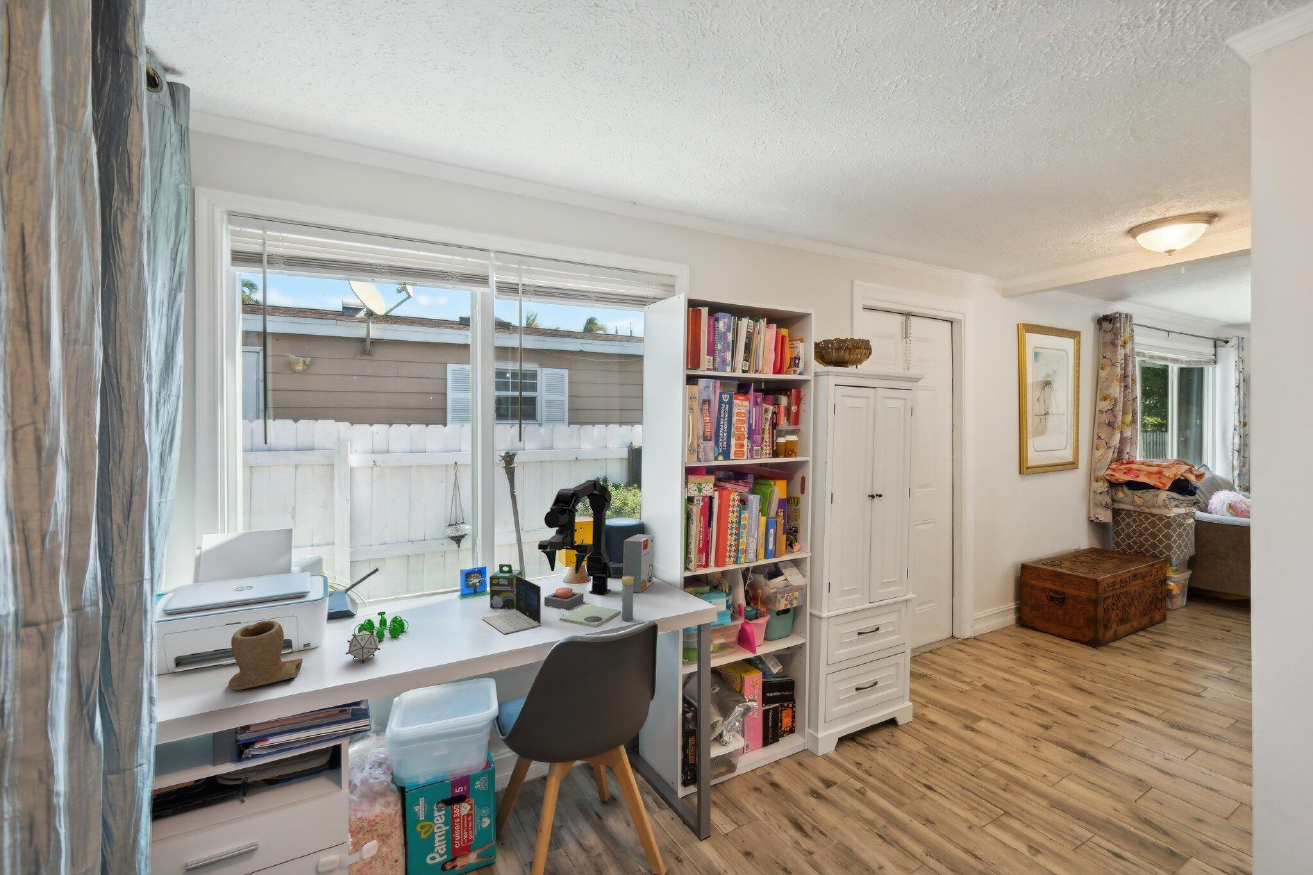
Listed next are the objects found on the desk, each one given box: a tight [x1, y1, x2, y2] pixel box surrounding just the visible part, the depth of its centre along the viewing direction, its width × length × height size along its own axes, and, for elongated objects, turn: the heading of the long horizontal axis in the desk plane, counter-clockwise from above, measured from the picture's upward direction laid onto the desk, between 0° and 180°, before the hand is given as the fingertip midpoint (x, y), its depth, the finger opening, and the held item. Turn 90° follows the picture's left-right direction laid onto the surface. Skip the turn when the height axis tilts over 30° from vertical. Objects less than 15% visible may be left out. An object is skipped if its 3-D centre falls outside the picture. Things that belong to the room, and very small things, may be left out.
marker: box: [621, 576, 634, 622], centre depth 187 cm, size 4×4×14 cm
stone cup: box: [228, 620, 303, 691], centre depth 140 cm, size 15×12×15 cm
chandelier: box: [353, 611, 409, 643], centre depth 173 cm, size 15×15×7 cm
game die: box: [345, 627, 381, 664], centre depth 154 cm, size 9×8×10 cm
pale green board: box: [559, 604, 622, 628], centre depth 190 cm, size 16×14×1 cm
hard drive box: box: [622, 533, 655, 593], centre depth 225 cm, size 16×8×20 cm, turn 161°
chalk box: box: [489, 563, 523, 610], centre depth 202 cm, size 9×9×15 cm
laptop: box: [481, 575, 542, 635], centre depth 184 cm, size 18×12×13 cm
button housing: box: [543, 591, 584, 611], centre depth 203 cm, size 10×10×3 cm
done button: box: [555, 587, 574, 599], centre depth 203 cm, size 6×6×2 cm
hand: (564, 572), depth 192 cm, fingers open, 9 cm apart
